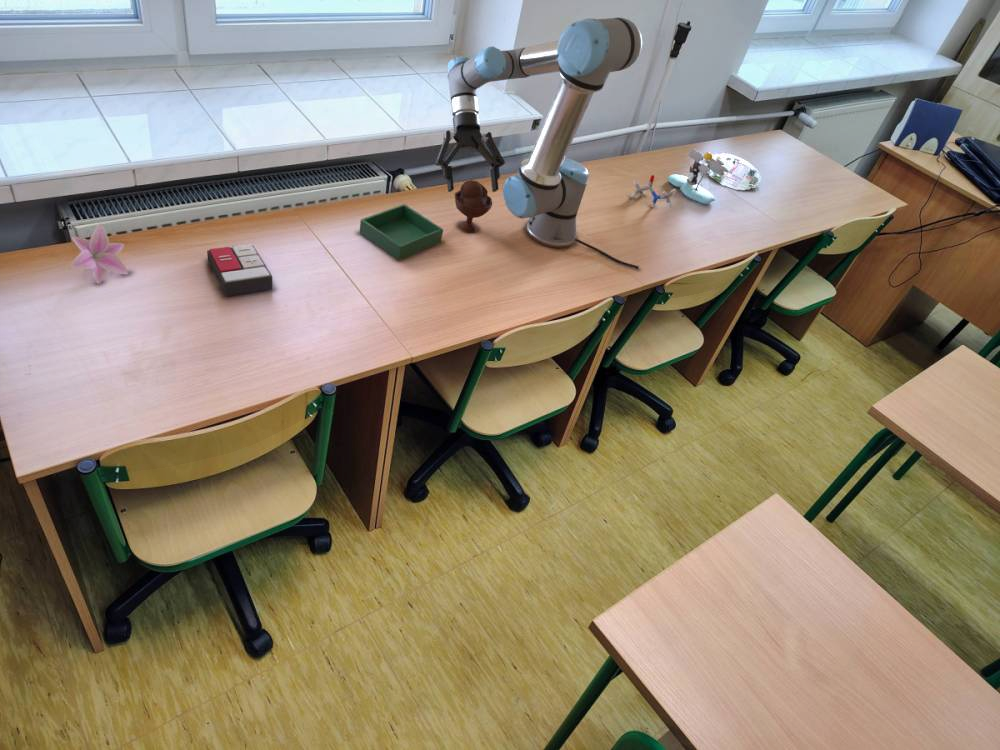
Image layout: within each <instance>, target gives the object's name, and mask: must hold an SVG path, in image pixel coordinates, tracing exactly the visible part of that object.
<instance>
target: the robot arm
mask: <svg viewBox="0 0 1000 750" xmlns="http://www.w3.org/2000/svg"><path fill="white" fill-rule="evenodd" d="M642 37H643V36H642V34H641V31H640V29H639V27H638V26H637V25H636V23H634V22H633V21H631V20H630V19H628V18H623V17H609V18H585V19H582V20H577V21H574V22H572V23H571V24H570V25H568V26H567V27H566V28H565V29H564V31H563V32H562V33H561V36H560V38H559V40H556V41H550V42H545V43H541V44H535V45H530V46H527V47H526V46H525V47H520V48H515V49H507V50H501V49H499V48H497V47H495V46H488V47H486V48H484V49H481V50H480V51H478V52H477V53H476V54H475V55H473V56H472V57H471V58H470V57H468V56H457V57H456V58H451V59H450V60H449V61H448V63H447V79H448V87H449V96H450V106H451V107H450V108H451V115H452V124H453V125H452V126H453V132H452V131H450V130H446V131H445V132H444V133H443V141H442V144H441V147H440V149H439V152H438V154H437V158H436V160H435V166H437V167H440V168H441V169H442V175H443V179H444V180H446V184H447V192H448V193H450V192H452V191H454V190H455V187H454V186H455V185H454V179H453V169H452V165H449V164H450V163H451V162H452V160H453V159H454V157H455V156H456V155H457V153H458V152H459V151H460V149H462V150H469V151H474V150H475V151H476V152H478V153H479V154H480V155H481V156H482V158H483V159H484V160H485V161H486V162H487V164H488V165H490V169H489V170H490V171H489V172H490V181H491V191H492V193H496V192H497V191H498V190H499V181H498V180H499V179H500V177H501V174H500V172H501V171H500V168H501V167H502V166H504V165H505V164H506V161H505V160H504V158H503V155H502V154H501V152H500V151H499V150H500V149H498V147H497V145H496V143H495V141H494V140H493V135H492V132H490V131H487V133H482V132H481V120H480V115H479V113H480V112H479V111H480V110H479V102H478V95H477V94H478V93H477V89H479V88H481V87H483V86H484V85H486V84H488V83H491V82H499V81H507V80H515V79H525V78H529V77H530V78H531V77H534V76H540V75H546V74H547V75H548V74H552V73H559V76H560V81H559V83H558V85H557V88H556V90H555V93H554V95H553V98H552V101H551V103H550V106H549V108H548V111H547V113H546V115H545V118H544V121H543V123H542V126H541V128H540V130H539V133H538V135H537V138H536V141H535V142H534V145H533V147H532V151H531V153H530V155H529V157H528V158H524V159H523V160H522V161H521V163H520V165H519V166H518V167H519V168H518V170H517V173H516V174H515V175H511V176H509V177H508V178H507V179H505V181H504V183H503V186H502V196H503V200H504V203H505V205H506V208H507V210H508V211H509V212H510V213H511V214H512V215H513V216H514V217H516V218H518V219H528V220H527V224H526V228H525V231H526V233H527V235H528V236H529V237H530V238H531V239H532V240H534V241H535V242H537V243H538V244H541V245H542V246H545V247H549V248H554V249H555V248H556V249H565V248H568V247H571V246H572V245H574V244H575V242H577V243H578V244H581V245H582V246H585V247H587V248H589V249H591V250H593V251H595V252H596V253H599V254H601V255H603V256H605V257H607V258H608V259H610V260H611V261H614V262H616V263H618V264H620V265H624V266H626V267H630V268H634V269H637V270H638V269H639V268H640V266H639V265H636V264H632V263H629V262H626V261H622V260H620V259H617V258H615V257H613V256H612V255H610V254H608V253H606V252H605V251H603V250H601V249H599V248H598V247H595V246H593V245H591V244H589V243H587V242H585V241H582V240H580V239H578V238H577V233H578V231H577V216H578V212H579V209H580V206H581V203H582V200H583V198H584V194H585V190H586V189H587V188H586V187H587V186H588V180H589V176H590V174H589V171H588V169H587V168H586V166H584V165H583V164H581V163H580V162H579V161H576V160H575V159H571V158H569V157H566V156H567V154H568V151H569V149H570V147H571V145H572V143H573V141H574V138H575V136H576V134H577V131H578V129H579V126H580V125H581V122H582V121H583V118H584V115H585V113H586V112H587V109H588V107H589V104H590V102H591V100H592V97H593V96H594V94H595V93H597V92H600V91H602V90H603V88H604V87H605V84H606V83H607V79H608V77H609V75H610V73H615V72H620V71H623V70H626V69H628V68H630V67H631V66H632V65H634V64H635V62H636V61H637V60H638V58H639V57H640V56H641V55H640V54H641V52H642V47H643V38H642ZM452 139H453V140H454V141H455V142H456V144H455V146H454V147H453V148H452V150H451V151H450V153H449V154H448V156H447V157H446V158H445V155H446V153H447V150H448V147H449V144H450V142H451V140H452ZM482 140H483V141H482ZM483 142H484V143H485V144H486V147H487V148H486V147H485V144H484V143H483ZM444 158H445V160H444Z"/></svg>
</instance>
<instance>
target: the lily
mask: <svg viewBox="0 0 1000 750" xmlns="http://www.w3.org/2000/svg"><path fill="white" fill-rule="evenodd" d="M71 239H72V241H73V243H74V244H75V245H76V247H77V248H78V249H79V250H80V252H79V254H78V255H77V256H76V257H75V258H74V259H73V260H72V261H71V263H70V264H69V268H71V269H72V270H73V269H74V270H91V272H92V275H93V278H94V279H95V281H96V283H97V284H101V282H102V281H103V280H104V277H105V275H106V272H111V273H115V274H121V275H128V274H129V271H128V269H127V267H126V265H125V264H124V263H123V261H122V260H121V259H120V258H119V257H118V256H117V255H118V254H119V253H120V252H122V250H123V249H124V247H125V244H124V243H121V242H110V240H109V237H108V234H107V231H106V229H105V227H104V226H103V224H102V223H101V222H100V223H97V225H96V226H95V229H94V230H93V232H92V234H91V237H90V239H86V238H84V237H80V236H74V235H72V236H71Z"/></svg>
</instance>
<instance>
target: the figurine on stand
mask: <svg viewBox="0 0 1000 750" xmlns="http://www.w3.org/2000/svg"><path fill="white" fill-rule="evenodd" d="M712 155H713V154H712V153H711V152H709V151H708V152H705V153H704V155H703V154H702V153H701V152H700V151H699V150H697V149H695V148H691V149H690V152H689V153H688V156H689V158H691V159H692V160H694V162H693V163H692V166H689V174H688V177H687V176H686V175H681V174H677V173H676V174H675V173H674V174H669V176H668V177H667V181H668V183H670V184H671V185H673V186H674V187H676V188H679V189H680V191H681V193H682V194H683V195H685V197H687V198H688V199H690V200H692V201H695V202H697V203H700V204H702V205H709V204H711V203H712V202H715V201H716V198H715V196H714V195H713V194H712V193H711V192H710V191H709V190H707V189H706V188H704V187H703V184H701V183H702V181H703V179H706V175H707V174H709V173H708V172H709V171H710V169H711V170H712V171H713V172H716V173H717V174H719V175H720V176H723V175H724V172H728V169H727V168H726V167H725V166H724V163H723V162H722V161H721V160H720V159H714V158H712ZM704 163H706V164H708V165H710V166H709V168H710V169H709V168H708V167H707V165H706V166H705V164H704ZM680 168H681V169H683V168H684V167H683V166H681V167H680ZM723 171H724V172H723ZM699 176H701V178H700V179H699V181H698V177H699Z"/></svg>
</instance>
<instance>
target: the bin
mask: <svg viewBox="0 0 1000 750" xmlns="http://www.w3.org/2000/svg"><path fill="white" fill-rule="evenodd" d="M443 234H444V229H443V228H442V227H440V226H439V225H438V224H436V223H434V222H433V221H431V220H430V219H428V218H427V217H425V216H423V214H421V213H419V212H418V211H416V210H415V209H413V208H411V207H410V206H409V205H407V204H406V203H403V204H400V205H398V206H395V207H392V208H389V209H386V210H383V211H381V212H377V213H375V214H373V215H369V216H367V217H364V218H361V219H360V224H359V235H361V236H363V237H364V238H365V239H367V240H368V241H369V242H371V243H373V244H374V245H375V246H377V247H378V248H379V249H381V250H383V251H384V252H386V253H387V254H388V255H390V256H391V257H392V258H394V259H395V260H397V261H401V260H403V259H407V258H408V257H411V256H413V255H415V254H418V253H420V252H422V251H424V250H427V249H429V248H433V247H434V246H436V245H438V244H441V243H442V239H443Z"/></svg>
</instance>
